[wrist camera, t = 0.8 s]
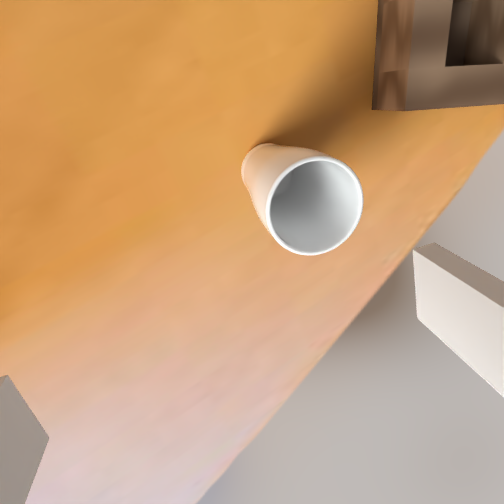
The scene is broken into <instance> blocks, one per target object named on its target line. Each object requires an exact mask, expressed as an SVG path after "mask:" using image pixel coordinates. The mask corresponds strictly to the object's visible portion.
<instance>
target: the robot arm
mask: <svg viewBox="0 0 504 504" xmlns="http://www.w3.org/2000/svg"><path fill="white" fill-rule="evenodd" d="M413 260H414V276H415V289H416V305H417V318H418V319H419V320H420V321H421V322H422V323H423V324H424V325H425V326H427V327H428V328H429V329H430V330H431V331H432V332H433V333H434V334H435V335H436V336H437V337H438V338H440V339H441V340H442V341H443V342H444V343H445V344H446V345H447V346H448V347H449V348H450V349H451V350H453V351H454V352H455V353H456V354H457V355H458V356H459V357H460V358H461V359H462V360H464V361H465V362H466V363H467V364H468V365H469V366H470V367H471V368H472V369H473V370H474V371H476V373H478V374H479V375H480V376H481V377H482V378H483V379H484V380H485V381H486V382H487V383H488V384H490V385H491V386H492V387H493V388H494V389H495V390H496V391H497V392H498V393H499V394H501V395H502V396H503V397H504V282H503V281H501V280H499V279H498V278H496V277H494V276H493V275H491V274H489V273H487V272H485V271H484V270H482V269H480V268H478V267H476V266H475V265H473V264H471V263H470V262H468V261H466V260H464V259H462V258H460V257H459V256H457V255H455V254H454V253H452V252H450V251H448V250H447V249H445V248H443V247H441V246H439V245H438V244H436V243H432V244H429V245H425V246H422V247H419V248H416V249H413ZM48 440H49V436H48V435H47V433H46V432H45V430H44V429H43V427H42V426H41V424H40V423H39V421H38V420H37V418H36V417H35V415H34V414H33V412H32V411H31V409H30V408H29V406H28V405H27V403H26V402H25V400H24V399H23V397H22V396H21V394H20V393H19V391H18V390H17V388H16V387H15V385H14V384H13V382H12V381H11V379H10V378H9V376H8V375H6V376H2V377H0V504H25V501H26V499H27V496H28V493H29V491H30V488H31V485H32V483H33V480H34V477H35V475H36V472H37V469H38V467H39V464H40V461H41V459H42V456H43V453H44V451H45V448H46V445H47V443H48Z"/></svg>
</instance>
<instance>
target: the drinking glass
mask: <svg viewBox="0 0 504 504" xmlns="http://www.w3.org/2000/svg"><path fill="white" fill-rule="evenodd" d="M241 175H242V180H243V182H244V184H245V186H246V188H247V189H248V192H249V194H250V197H251V200H252V203H253V205H254V208H255V211H256V213H257V215H258V217H259V219H260V220H261V222H262V224H263V225H264V226H265V228H266V229H267V230H268V232H269V233H270V234H271V235H272V236H273V238H274V239H275V240H276V241H277V242H278V243H279V244H280V245H281V246H283V247H284V248H285V249H287V250H289V251H291V252H294V253H297V254H301V255H318V254H322V253H325V252H328V251H331V250H332V249H334V248H336V247H338V246H339V245H341V244H342V243H343V242H344V241H345V240H346V239H347V238H348V237H349V236H350V235H351V234H352V233H353V231H354V230H355V228H356V226H357V224H358V222H359V220H360V217H361V214H362V210H363V191H362V187H361V184H360V181H359V179H358V177H357V176H356V174H355V173H354V171H353V170H352V169H351V168H350V167H349V166H348V165H346V164H345V163H343V162H342V161H340V160H338V159H336V158H334V157H332V156H330V155H328V154H325V153H323V152H320V151H317V150H313V149H309V148H303V147H293V146H281V145H277V144H273V143H264V144H260V145H258V146H256V147H254V148H253V149H251V150H250V151H249V152H248V154H247V155H246V156H245V158H244V160H243V163H242V168H241Z"/></svg>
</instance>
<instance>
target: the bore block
mask: <svg viewBox="0 0 504 504" xmlns="http://www.w3.org/2000/svg"><path fill="white" fill-rule="evenodd" d="M496 104H504V0H378V16H377V32H376V49H375V66H374V83H373V99H372V110H393V111H412V110H426V109H440V108H454V107H468V106H482V105H496Z"/></svg>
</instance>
